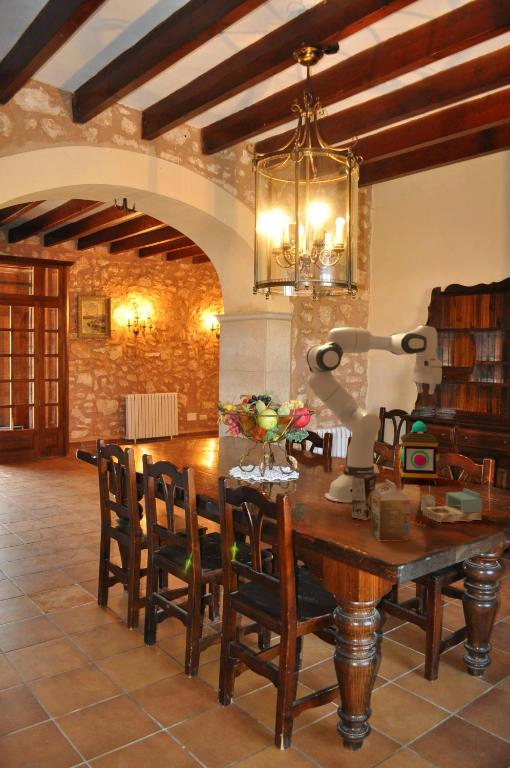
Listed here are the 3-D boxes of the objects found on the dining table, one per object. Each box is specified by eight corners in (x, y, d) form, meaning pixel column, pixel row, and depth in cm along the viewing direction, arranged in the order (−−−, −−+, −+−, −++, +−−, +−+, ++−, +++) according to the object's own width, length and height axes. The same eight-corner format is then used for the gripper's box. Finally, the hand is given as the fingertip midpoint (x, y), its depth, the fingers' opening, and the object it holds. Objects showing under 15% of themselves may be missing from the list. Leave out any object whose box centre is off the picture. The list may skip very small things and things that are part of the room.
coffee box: (367, 521, 230) (367, 478, 229) (351, 518, 234) (351, 476, 233) (375, 515, 238) (376, 474, 237) (360, 513, 241) (360, 473, 241)
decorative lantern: (441, 486, 291) (442, 423, 289) (398, 484, 294) (399, 422, 293) (436, 477, 310) (437, 419, 309) (396, 476, 314) (397, 418, 312)
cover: (462, 512, 230) (463, 495, 229) (445, 505, 241) (446, 488, 241) (481, 511, 232) (482, 494, 231) (464, 503, 243) (464, 487, 243)
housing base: (438, 523, 228) (438, 515, 227) (422, 514, 239) (422, 507, 239) (481, 520, 232) (481, 512, 232) (463, 512, 243) (464, 504, 243)
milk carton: (409, 540, 206) (410, 485, 205) (379, 541, 206) (379, 485, 205) (399, 531, 217) (400, 478, 216) (370, 532, 216) (371, 479, 215)
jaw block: (425, 512, 243) (426, 497, 243) (420, 510, 247) (421, 495, 246) (435, 512, 244) (435, 497, 243) (429, 509, 248) (430, 495, 247)
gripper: (408, 361, 279) (407, 391, 280) (431, 362, 259) (430, 395, 260) (421, 361, 280) (420, 391, 281) (444, 362, 261) (444, 394, 261)
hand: (425, 393), depth 270 cm, fingers open, 8 cm apart
